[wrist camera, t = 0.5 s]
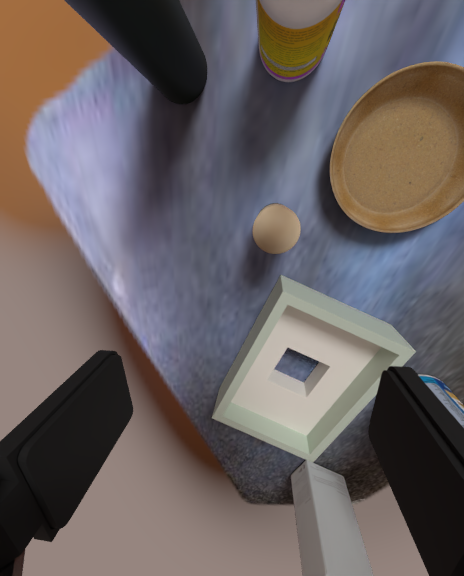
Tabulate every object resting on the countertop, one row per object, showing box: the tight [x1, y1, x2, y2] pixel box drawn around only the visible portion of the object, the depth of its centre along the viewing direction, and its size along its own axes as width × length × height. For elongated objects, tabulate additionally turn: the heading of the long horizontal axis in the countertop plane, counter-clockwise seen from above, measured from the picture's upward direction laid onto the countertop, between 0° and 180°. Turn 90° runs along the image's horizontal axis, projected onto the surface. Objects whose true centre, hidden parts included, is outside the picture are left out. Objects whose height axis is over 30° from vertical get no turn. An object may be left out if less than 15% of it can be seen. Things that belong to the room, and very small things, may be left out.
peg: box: [253, 203, 301, 254], centre depth 26 cm, size 4×4×8 cm
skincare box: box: [291, 460, 374, 576], centre depth 38 cm, size 8×6×15 cm
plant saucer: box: [330, 62, 464, 233], centre depth 25 cm, size 15×15×3 cm
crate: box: [212, 275, 416, 463], centre depth 34 cm, size 16×22×6 cm
